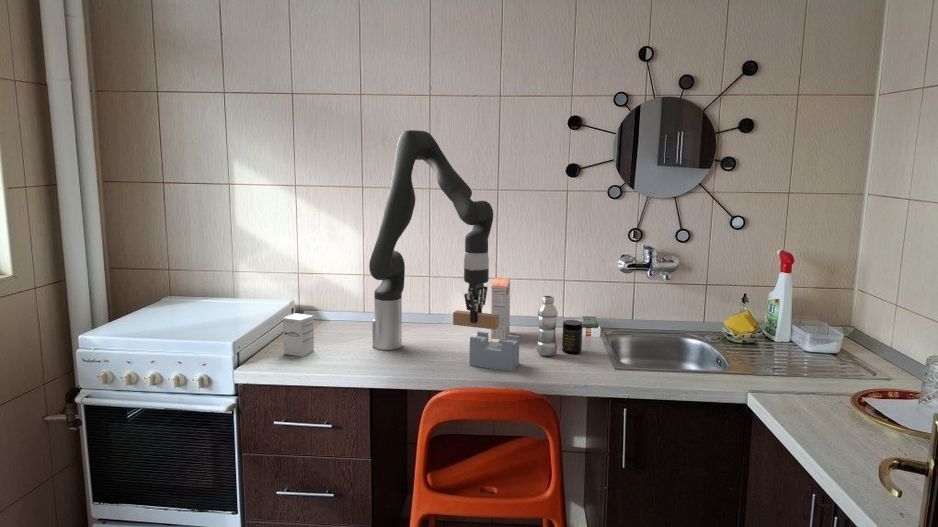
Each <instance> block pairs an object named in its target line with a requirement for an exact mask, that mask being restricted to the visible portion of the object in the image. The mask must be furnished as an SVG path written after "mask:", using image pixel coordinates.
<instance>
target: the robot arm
mask: <svg viewBox="0 0 938 527" xmlns="http://www.w3.org/2000/svg"><path fill="white" fill-rule="evenodd" d="M420 160H421V161H424V162H425V163H426V164H427V165H429V167H431V169H432V170H433V171H434V174H435V177H436V181H437V184H438V186H439V188H440V189H441V191H442V192H443V193H444V194H445V196H446V197H447V198H448V199H449V200H450V201H451V203H452V205H453V207H454V209H455V210H456V213H457V216H458V217H459V219H460V220H461V221H462V222H463V223H464V224H466V225H469V226H472V229H471V231H470V232H468V233H467V234H466V235H465V236H464V237H465V239H464V241H465V242H464V257H463V263H464V264H463V265H464V266H463V281H464V282H465V283H467V284H468V289H467V293H464V294H463V298H464V300H465V301H464V302H465V306H466V307H465V308H466V311H469V312H470V322H471V323H477V318H478V312H479V313H483V308H484V306H485V305H486V300H487V294H488V289H489V288H488V286H485V284H487V283H488V282H489V280H490V278H489V272H490V270H489V268H490V267H489V264H490V263H489V261H490V258H489V237H490V234H491V230H492V225H493V222H494V209H493V207H492V205H491V204H490V202H488V201H487V200H478V201H477V200H475V201H474V200H472V199H471V197H472V195H473V191H472V189H471V187H470V185H468V183H467V182H466V181H465V180H464V179H463V178H462V176H460V175H459V174H458V172H457V171H456V170H455V168H454V167H453V166H452V165H451V163H450V161H449V160H448V159H447V157H446V156H445V154H444V153H443V151H442V149H441V148H440V146H439V144H438V142H437V140H435V138H434V137H433V136H432V135H431V133H430V132H428V131H424V130H413V129H407V130H404V131H403V132H401V134H400V135H399V137H398V139H397V145H396V150H395V158H394V164H393V171H392V177H391V180H390V181H391V182H390V186H389V187H390V188H389V191H388V195H387V198H386V202H385V207H384V209H383V210H384V211H383V216H382V220H381V223H380V227H379V231H378V236H377V239H376V242H375V245H374V248H373V250H372V253H371V255H370V259H369V263H368V264H369V265H368V266H369V273H370V275H371V276H372V278H374V280H378V281H381V283H380V284H379V286H378V287H376V288H375V290H374V292H373V294H374V318H373V319H372V322H371V323H372V326H371V327H372V329H371V330H372V332H371V333H372V348H376V349H378V350H383V351H395V350H398V349H400V348H402V346H403V338H402V337H403V331H402V329H403V327H402V326H403V320H402V319H403V318H402V317H403V312H402V311H403V310H402V308H403V306H402V304H403V303H402V302H403V301H402V300H403V299H402V298H403V297H402V295H403V292H404V289H405V276H406V275H405V272H406V270H405V269H406V265H405V260H404V257H403V255H402V254H401V252H399V251H397V250H395V247H396V245H397V242H398V241H399V239H400V238H401V237H402V235H403V234H404V232H405V231H406V230H407V227H408V226H409V224H410V222H411V220H412V217H413V214H414V210H415V206H416V194H415V189H414V185H413V180H412V179H413V178H412V175H413V170H414V165H415V162H416V161H420Z"/></svg>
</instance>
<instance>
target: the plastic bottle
mask: <svg viewBox="0 0 938 527" xmlns="http://www.w3.org/2000/svg"><path fill="white" fill-rule="evenodd" d="M541 303H542V304H541V306H539V308H538V310H537V319H538V339H537V344H536V352H537V354H538V355H540V356H544V357H552V356H554V355H556V353H557V350H558V346H557V340H556V328H557V326H556V325H557V321H558V320H557V319H558V310H557V307H556V306H555V304H554V303H555V297H554V296H551V295H544V296H542V301H541Z"/></svg>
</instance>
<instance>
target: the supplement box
mask: <svg viewBox="0 0 938 527" xmlns="http://www.w3.org/2000/svg"><path fill="white" fill-rule="evenodd" d="M314 324H315V323H314V314H313V315H310V314H304V313H292V314H289V315H287V316H285V317H282V325H283V326H282V329H283V334H282V336H283V354H284V355H290V356H297V357H301V358H302V357H303V358H304V357H305V356H306V355H309V354H311V353H313V352H314V351H315V337H314V336H315V334H314V329H315V328H314V327H315V326H314Z"/></svg>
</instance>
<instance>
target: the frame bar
mask: <svg viewBox="0 0 938 527" xmlns="http://www.w3.org/2000/svg"><path fill="white" fill-rule="evenodd" d="M452 325H453V326H459V327H470V328H478V329H487V330H491V329H497V328H498V327H499V315H498V314H491V313H486V312H482V313H479V312H478V318H477V323H471V322H470V311H469V310H458V309H457V310H455V311H453V312H452Z"/></svg>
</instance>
